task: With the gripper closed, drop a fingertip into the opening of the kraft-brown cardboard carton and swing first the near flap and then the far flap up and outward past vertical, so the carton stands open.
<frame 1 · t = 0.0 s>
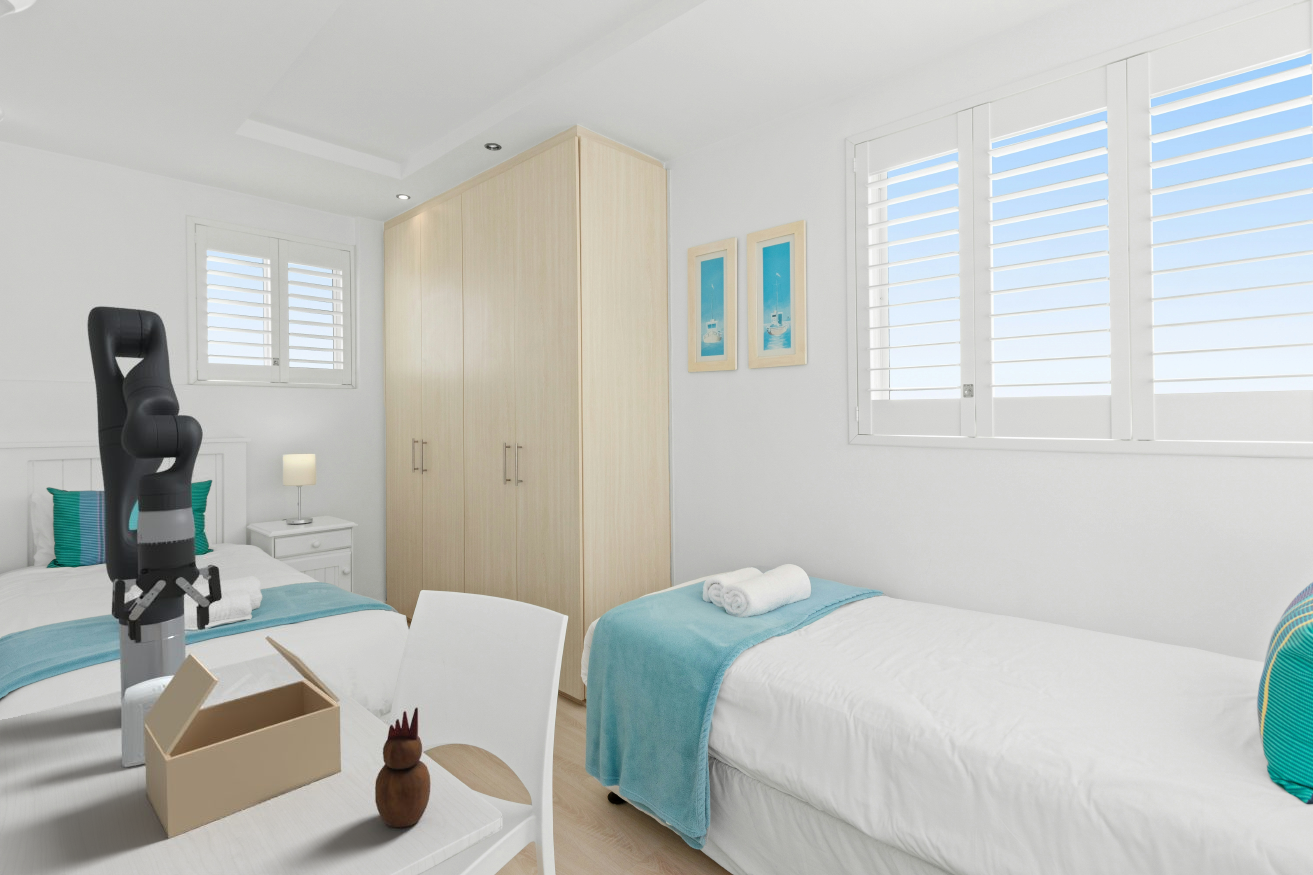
hand: (170, 635, 107), 17 cm above the table, tool pointing down, fingers open, 8 cm apart
photo printer: (164, 756, 102), on the table
near flap: (179, 700, 88), point 15 cm above the table, hinge at 55.0°
carton: (246, 782, 94), on the table
wooden figurine: (403, 820, 86), on the table
far flap: (301, 668, 99), point 15 cm above the table, hinge at 55.0°
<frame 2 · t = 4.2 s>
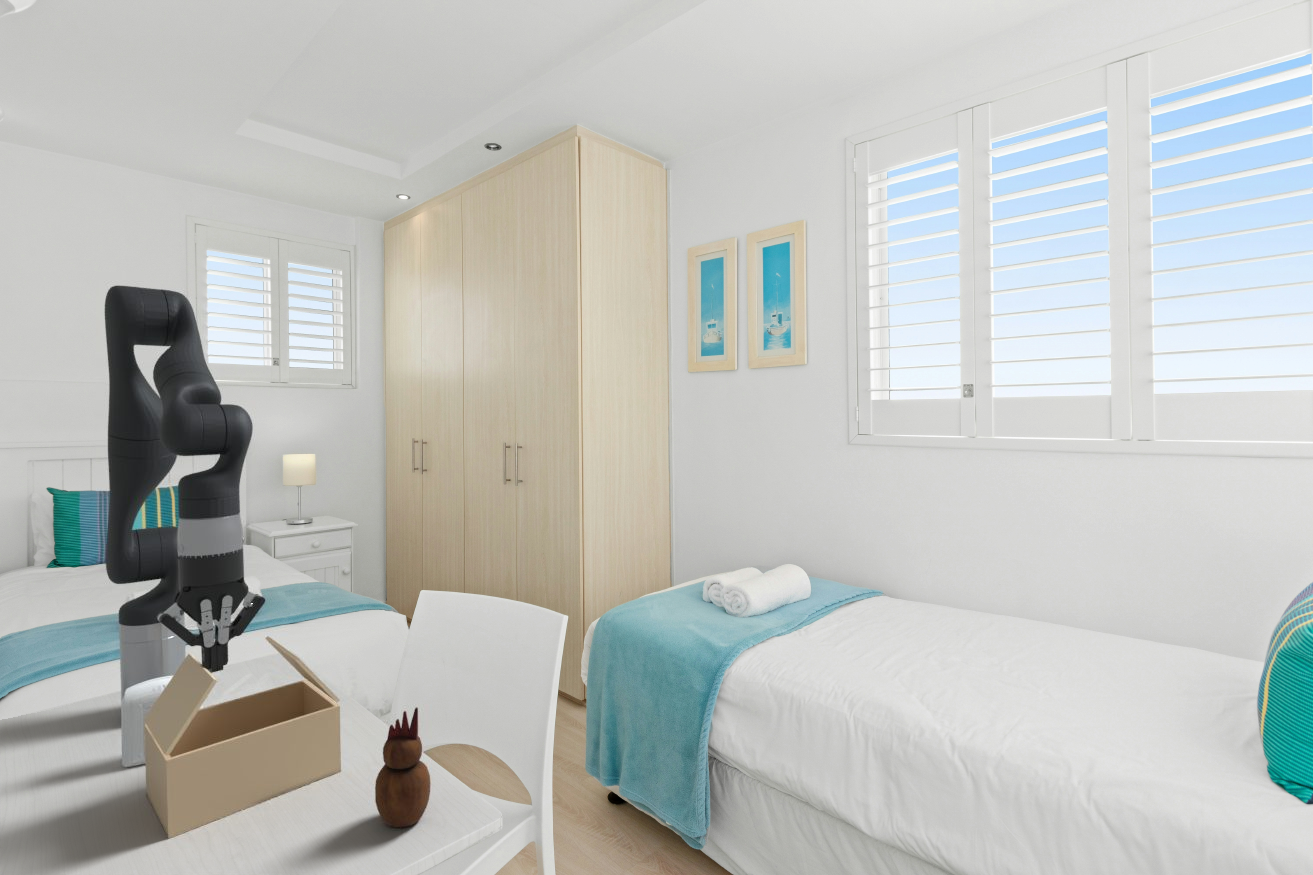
hand: (215, 669, 91), 18 cm above the table, tool pointing down, fingers closed
near flap: (179, 700, 88), point 15 cm above the table, hinge at 55.8°, touching gripper
everything else where it was.
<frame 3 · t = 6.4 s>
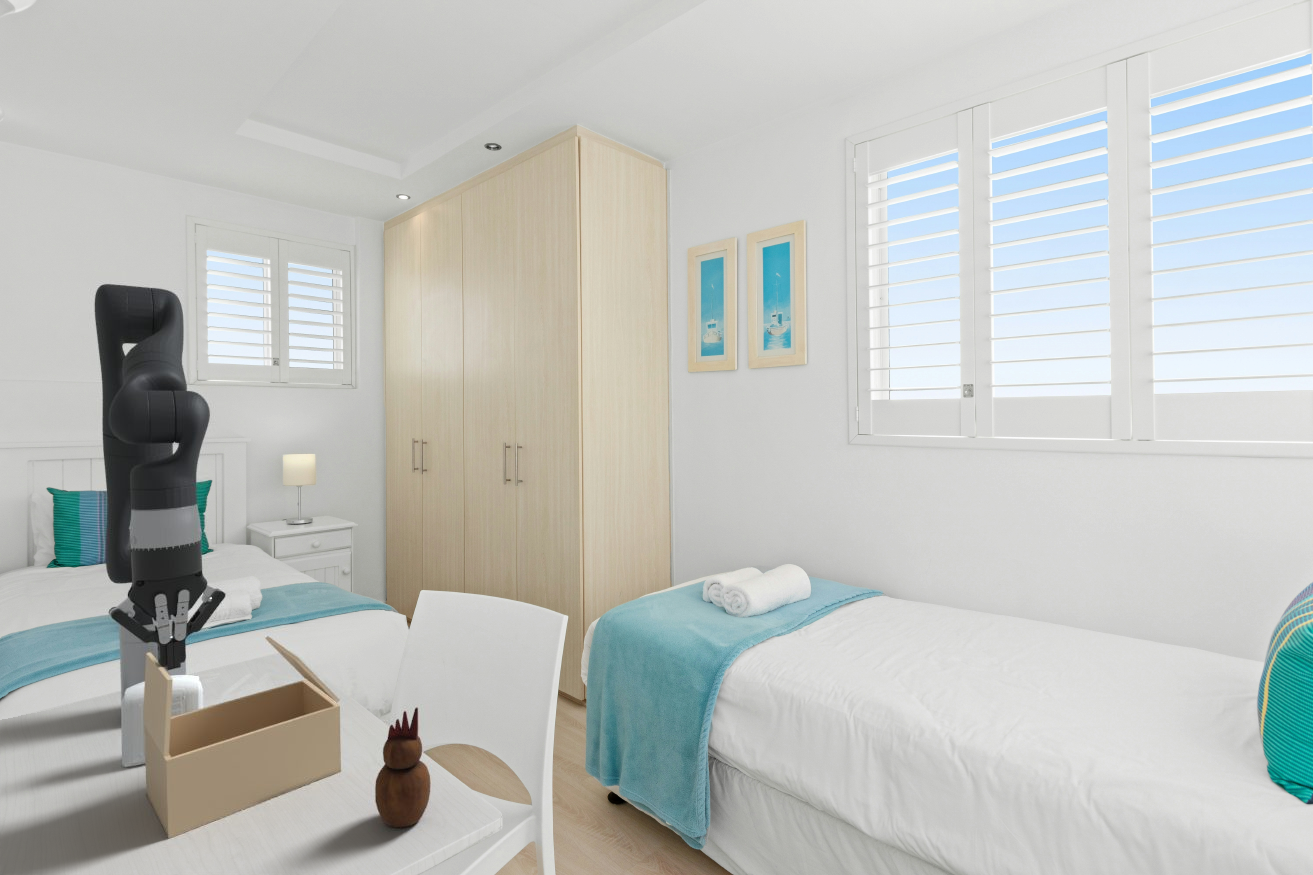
hand: (172, 667, 87), 19 cm above the table, tool pointing down, fingers closed
near flap: (156, 701, 86), point 15 cm above the table, hinge at 86.4°, touching gripper
everything else where it was.
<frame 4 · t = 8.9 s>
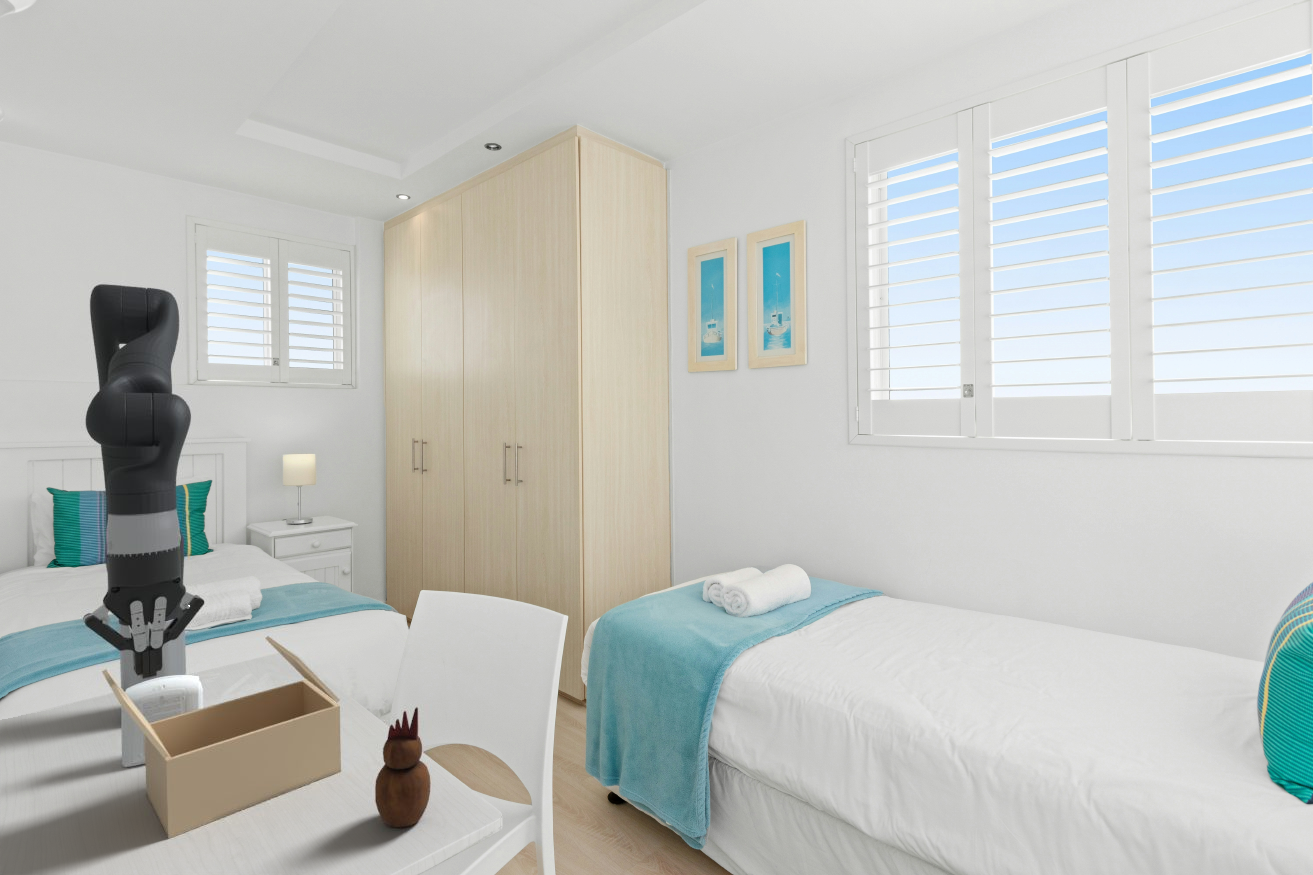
hand: (148, 675, 86), 19 cm above the table, tool pointing down, fingers closed
near flap: (134, 712, 84), point 15 cm above the table, hinge at 116.2°
everything else where it was.
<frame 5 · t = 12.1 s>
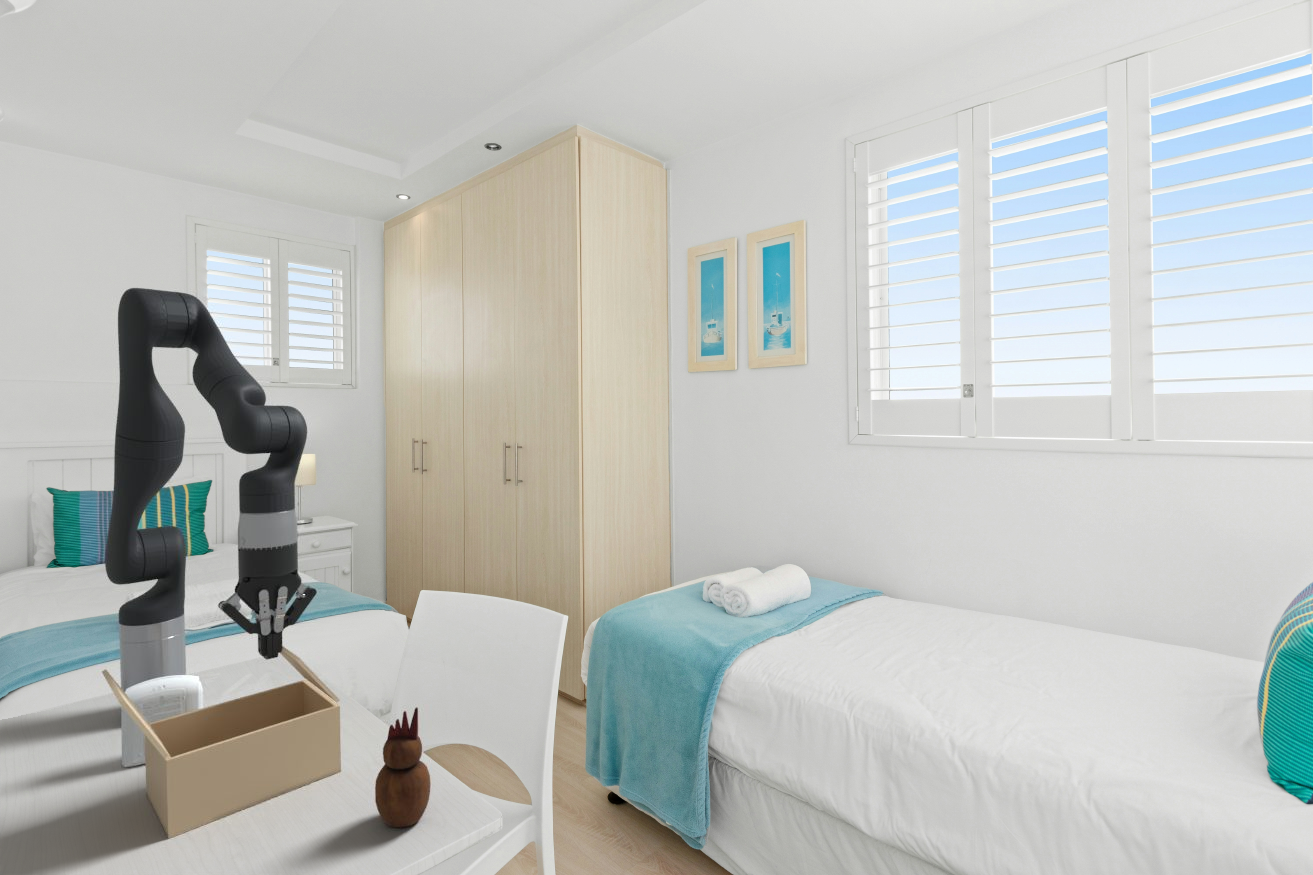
hand: (270, 656, 96), 18 cm above the table, tool pointing down, fingers closed
far flap: (301, 668, 99), point 15 cm above the table, hinge at 55.3°, touching gripper
everything else where it was.
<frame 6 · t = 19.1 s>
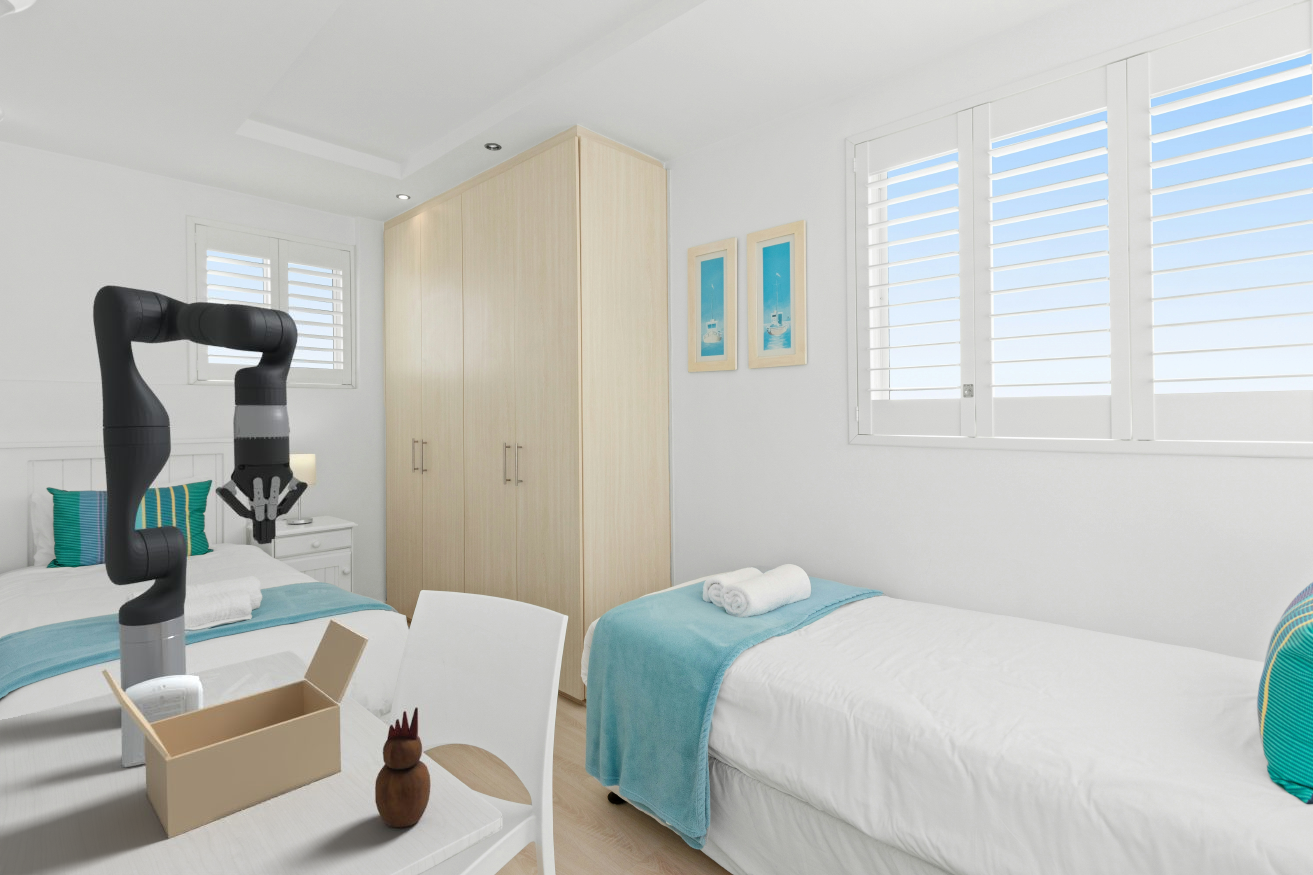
hand: (264, 543, 103), 33 cm above the table, tool pointing down, fingers closed
far flap: (335, 658, 103), point 15 cm above the table, hinge at 116.9°
everything else where it was.
at the end: near flap at +116° (first picture: +55°); far flap at +117° (first picture: +55°) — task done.
